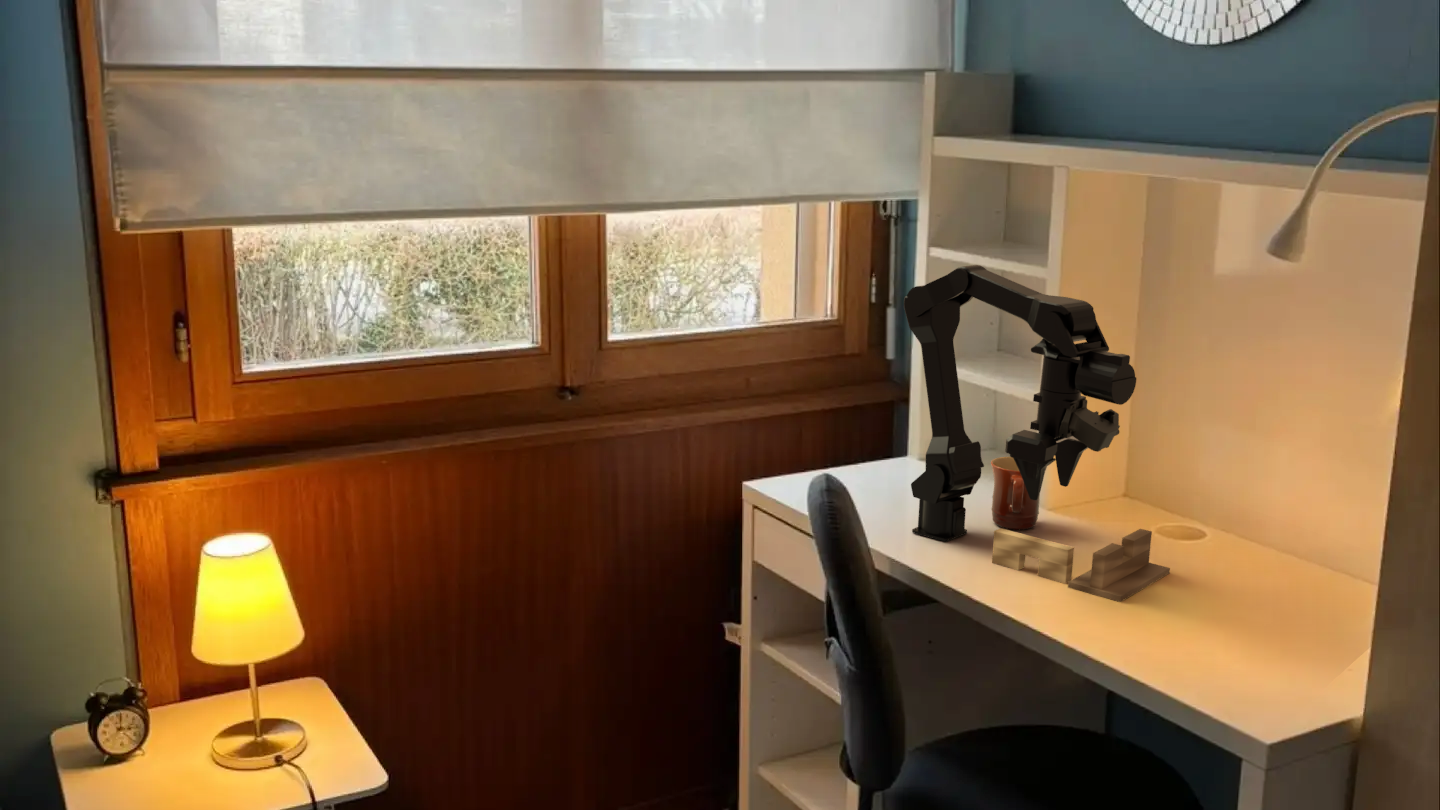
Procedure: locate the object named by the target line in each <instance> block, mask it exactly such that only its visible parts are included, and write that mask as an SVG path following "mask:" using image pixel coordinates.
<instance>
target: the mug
mask: <svg viewBox="0 0 1440 810" xmlns="http://www.w3.org/2000/svg"><path fill="white" fill-rule="evenodd" d="M990 465H991V470H992V474H993V492H992V493H993V494H992V502H991V503H992V504H991V517H992V522H994V524H995V525H996V526H998V527H1000V528H1002V529H1006V530H1009V531H1027V530H1030V529H1032V528H1033V527H1035V526H1036V524H1037V521H1038V518H1039V514H1040V512H1039V511H1040V502H1041V500H1040V499H1041V493H1040V494H1039V498H1038V500H1032V499H1030V497H1029V495H1028V492H1027V489H1026V487H1025V484H1024V481H1023V479H1022V476H1021V474H1020V471H1019V469H1018V467H1017V465H1016V463H1015V461H1014V458H1012V457H1010V456H1002V457H1001V456H1000V457H996V458H993V459H992V460H991V461H990ZM1047 468H1048V466H1047V467H1046V470H1045V472H1046V471H1047Z"/></svg>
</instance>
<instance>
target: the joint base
mask: <svg viewBox="0 0 1440 810" xmlns="http://www.w3.org/2000/svg"><path fill="white" fill-rule="evenodd" d="M1152 533H1153V531H1152V530H1147V529H1143V528H1138V529H1137V530H1135V531H1132V533H1130V534H1128V535H1125V536H1123V537H1121V538H1122V539H1121V544H1117V543H1114V542H1112V543H1109V544H1108V545H1106V546H1103V547H1102V548H1100V549H1098V550H1096V551H1094V552H1092V561H1091V569H1090V570H1088V571H1086V572H1084V573H1083V574H1080V575H1078V576H1076V577H1074V578H1073V579H1071V581H1069V582H1067V583H1068V584H1067V588H1069V589H1073V590H1077V591H1080V592H1084V593H1088V594H1090V595H1091V594H1092V595H1095V596H1098V597H1101V598H1105V599H1108V600H1109V599H1110V600H1113V601H1116V602H1119V603H1122V602H1123V601H1125V600H1126V599H1128V598H1130V597H1131V596H1133V595H1134V594H1136V593H1138V592H1140V591H1141V590H1143V589H1145V588H1147V587H1148V586H1151V585H1152V584H1154V583H1155V582H1157V581H1158V580H1160V579H1162V578H1164V577H1166V576H1167V575H1169V574H1170V573H1171V572H1170V571H1171V567H1168V566H1165V565H1160V564H1156V563H1152V562H1150V554H1151V552H1150V551H1151V543H1152Z"/></svg>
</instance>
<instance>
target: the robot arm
mask: <svg viewBox="0 0 1440 810" xmlns="http://www.w3.org/2000/svg"><path fill="white" fill-rule="evenodd" d="M973 298H974V299H976V300H979V301H981V302H983V303H985V304H988V305H990V306H992V307H994V308H996V309H999V310H1001V311H1003V312H1005V313H1008V314H1009V315H1011V316H1014V317H1016V318H1019V319H1021V320H1023V321H1024V322H1025V323H1027V324H1028V325H1029V327H1030V329H1031V330H1032V332H1033V333H1035V334H1036V335H1038V336H1039V337H1040V338H1042V339H1041V341H1039V342H1038V343H1037V344H1035V345H1033V346H1032V347H1031V348H1030V352H1031V353H1034V354H1038V355H1040V356H1041V355H1042V356H1043V359H1042V366H1041V367H1042V369H1041V377H1040V386H1039V392H1037V393H1034V394H1033V398H1032V401H1033V402H1035V403H1038V405H1037V414H1036V420H1033V421H1031V422H1030V430H1034V431H1030V430H1026V429H1023V430H1020V431H1017V432H1015V433H1013V434H1011V435H1010V436H1008V437H1007V438H1006V439H1005V450H1004V451H1005V453H1006V454H1009V457H1012V458H1014V461H1015V463H1016V465H1017V467H1018V469H1019V471H1020V474H1021V476H1022V479H1023V481H1024V484H1025V487H1026V489H1027V492H1028V495H1029V497H1030V499H1032V500H1038V498H1039V494H1040V495H1041V491H1042V487H1043V482H1044V478H1045V473H1046V471H1047V468H1048V466H1050V465H1051V464H1052V463H1054V462H1055V463H1056V470H1057V476H1058V481H1059V486H1061V487H1068V486H1069V484H1070V483H1071V480H1072V477H1073V475H1074V473H1075V471H1076V468H1077V465H1078V463H1079V461H1080V459H1081V457H1082V454H1083V453H1084V451H1086V450H1088V449H1089V450H1091V451H1093V452H1101V451H1102V450H1104V449H1108V448H1109V447H1110V445H1111V443H1112V441H1113V440H1114V438H1115V436H1118V435H1120V427H1121V425H1120V422H1119V419H1120V416H1119V413H1118V412H1117V411H1115V410H1113V409H1112V408H1110V409H1107V410H1104V411H1103V412H1102V413H1100V412H1099V411H1092V410H1090V409H1088V400H1087V397H1088V398H1093V399H1096V400H1100V401H1103V402H1107V403H1111V404H1115V405H1118V406H1119V405H1120V406H1122V405H1124V404H1126V403H1127V402H1128V401H1129V400H1130V399H1131V397H1132V396H1133V393H1134V392H1135V389H1136V385H1137V376H1136V372H1135V369H1134V367H1133V365H1132V364H1130V361H1131V356H1130V355H1129V354H1125V353H1115V352H1110V347H1109V345H1108V343H1107V341H1106V338H1105V336H1104V334H1103V331H1102V330H1101V327H1100V326H1099V323H1098V321H1097V317H1096V314H1095V310H1094V307H1093V306H1092V304H1090V303H1089V302H1088V301H1085V300H1083V299H1077V298H1072V297H1069V296H1059V295H1058V296H1057V295H1049V294H1045V293H1042V292H1039V291H1036V290H1034V289H1033V288H1030V287H1027V286H1025V285H1023V284H1020V283H1018V282H1016V281H1014V280H1011V279H1009V278H1006V277H1004V276H1002V275H1000V274H997V273H995V272H992V271H990V270H987V268H986V267H984V266H982V265H979V264H972V265H962V266H958V267H957V268H955V269H954V270H952V271H950V272H949V273H947V274H946V275H944V276H941V277H939V278H937V279H935V280H932V281H930V282H928V283H926V284H924V285H916V286H914V287H912V288H911V289H910V290H908V293H907V295H906V296H904V299H903V310H904V312H905V316H906V319H907V324H908V328H909V330H910V331H911V332H912V334H913V335H914V336H915V338H916V340H917V341H918V342H919V343H920V347H921V355H922V362H923V369H924V370H923V371H924V378H925V387H926V393H927V403H928V409H929V418H930V426H931V439H930V441H929V444H928V447H927V450H926V453H925V471H924V472H922V474H920V475H919V476H918V477H917V478H915V480H914V481H912V482H911V484H910V488H911V492H912V496H913V498H916V499H918V500H919V503H918V504H919V505H918V520H917V526H916V527H914V528H912V529H911V532H912V533H913V534H917V535H919V536H923V537H928V538H931V539H933V540H934V539H935V540H938V541H942V542H949V541H951V540H953V539H956V538H959V537H960V536H962V535H965V534H967V533H968V529H967V528H965V526H966V513H967V512H966V507H964V503H965V502H964V501H965V497H963V496H966V495H967V496H969V495H971V493H972V491H973V489H974V486H975V485H976V484H977V483H978V481H979V480H980V479H981V478H982V477H981V476H982V468H984V467H985V465H984V463H983V459H982V446H981V443H980V442H979V441H974V442H973V441H972V440H971V438H970V437H969V436H968V435H967V433H966V430H965V424H964V418H963V417H964V415H963V409H962V401H961V393H960V385H959V377H958V369H957V362H956V361H957V359H956V354H955V347H954V340H955V339H954V338H955V337H956V336H955V335H956V332H957V330H958V328H959V325H960V322H961V307H962V306H964V305H966V304H967V303H969V302H971V301H972V300H973ZM1080 341H1084V342H1080ZM1075 342H1078V343H1075ZM1035 431H1037V432H1035ZM1046 467H1047V468H1046ZM1045 470H1046V471H1045Z"/></svg>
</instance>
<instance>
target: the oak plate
mask: <svg viewBox="0 0 1440 810" xmlns="http://www.w3.org/2000/svg"><path fill="white" fill-rule="evenodd" d="M1074 553H1075V547H1074V546H1071V545H1066V544H1063V543H1059V542H1054V541H1051V540H1047V539H1043V538H1039V537H1036V536H1033V535H1028V534H1024V533H1020V532H1017V531H1014V530H1009V529H1004V528H1001V527H1000V528H998V529H996V530H994V532H993V545H992V558H991V559H992V560H991V563H992V564H996V565H998V566H1002V567H1006V568H1010V569H1011V570H1016V571H1019V570H1021V569H1023V568H1025V564H1026V563H1025V562H1026V556H1027V557H1030V558H1031V557H1032V558H1035V559H1038V568H1037V576H1038V577H1041V578H1045V579H1049V580H1052V581H1054V582H1055V581H1056V582H1059V583H1061V584H1067V583H1068V582H1069V581H1071V580H1072V577H1073V576H1072V574H1073V563H1074Z"/></svg>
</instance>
